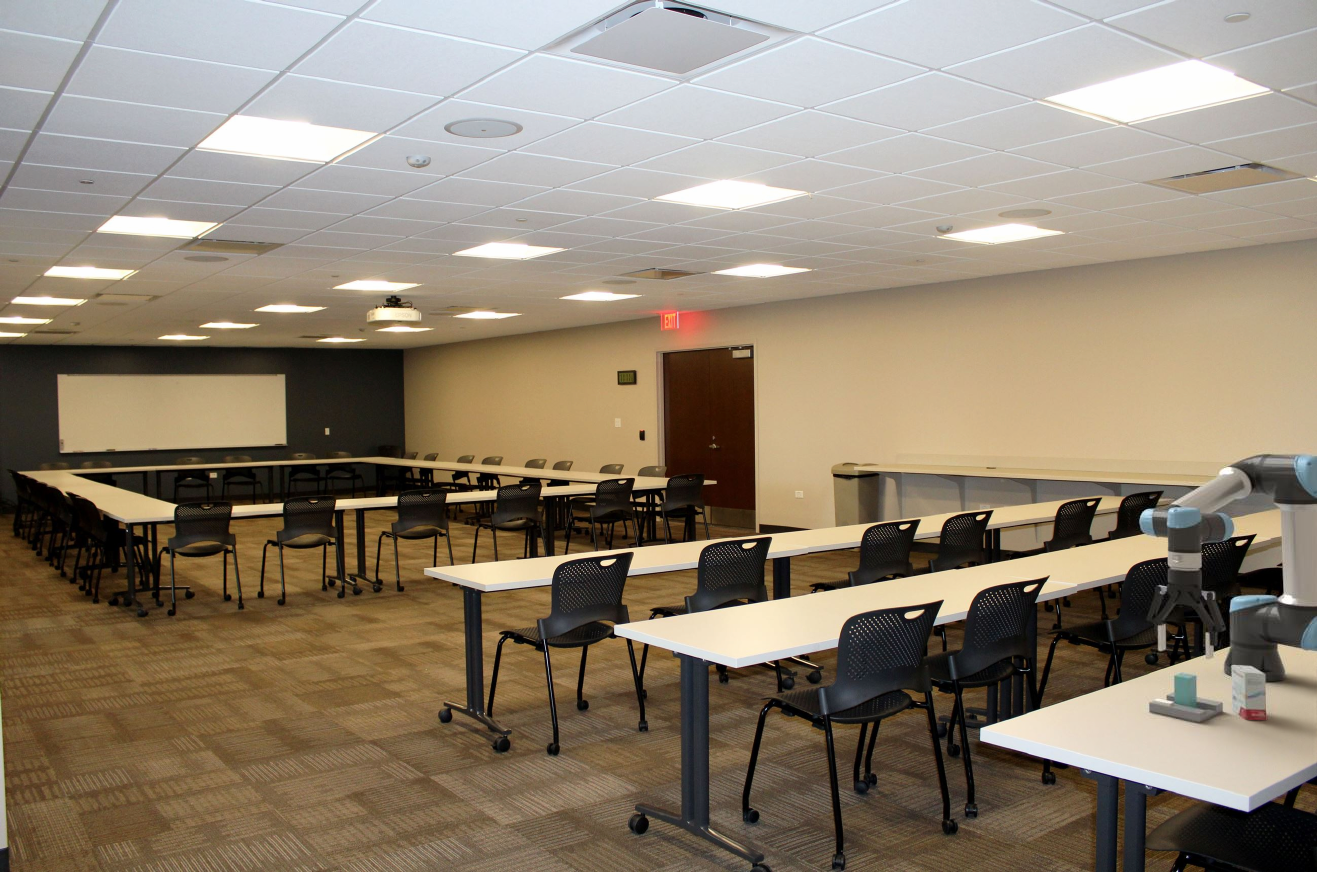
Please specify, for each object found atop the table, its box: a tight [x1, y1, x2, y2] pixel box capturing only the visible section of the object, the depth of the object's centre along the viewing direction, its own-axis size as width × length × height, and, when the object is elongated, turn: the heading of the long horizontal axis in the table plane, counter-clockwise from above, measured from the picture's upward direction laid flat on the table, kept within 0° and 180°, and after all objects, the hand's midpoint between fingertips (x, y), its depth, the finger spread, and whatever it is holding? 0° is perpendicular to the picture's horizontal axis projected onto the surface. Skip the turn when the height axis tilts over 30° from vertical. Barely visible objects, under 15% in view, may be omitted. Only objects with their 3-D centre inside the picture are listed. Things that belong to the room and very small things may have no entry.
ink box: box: [1231, 665, 1267, 721], centre depth 234 cm, size 9×5×12 cm, turn 168°
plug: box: [1173, 672, 1198, 708], centre depth 237 cm, size 4×4×9 cm
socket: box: [1148, 692, 1224, 724], centre depth 237 cm, size 14×12×3 cm
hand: (1185, 653), depth 237 cm, fingers open, 11 cm apart
